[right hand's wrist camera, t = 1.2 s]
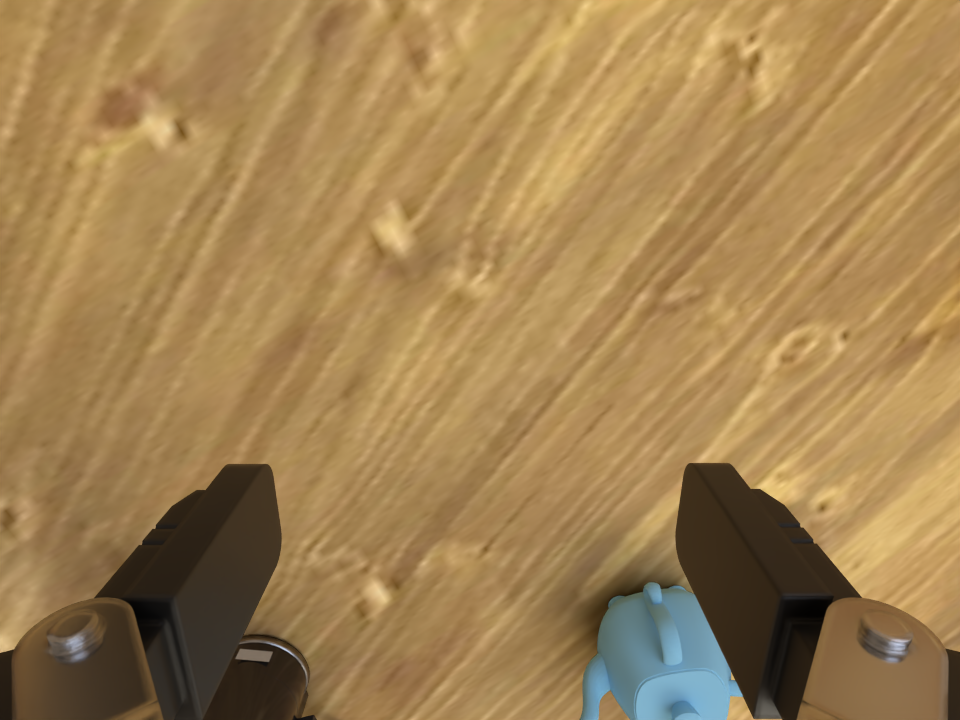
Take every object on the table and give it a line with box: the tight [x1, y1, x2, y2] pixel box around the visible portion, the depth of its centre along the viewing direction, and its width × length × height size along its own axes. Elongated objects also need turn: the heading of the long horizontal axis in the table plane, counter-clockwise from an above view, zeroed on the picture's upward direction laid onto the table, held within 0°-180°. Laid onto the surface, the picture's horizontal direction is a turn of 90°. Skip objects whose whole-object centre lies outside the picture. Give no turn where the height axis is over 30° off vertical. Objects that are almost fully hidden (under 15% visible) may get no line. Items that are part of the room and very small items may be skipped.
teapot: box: [580, 582, 743, 720], centre depth 52 cm, size 13×14×11 cm
